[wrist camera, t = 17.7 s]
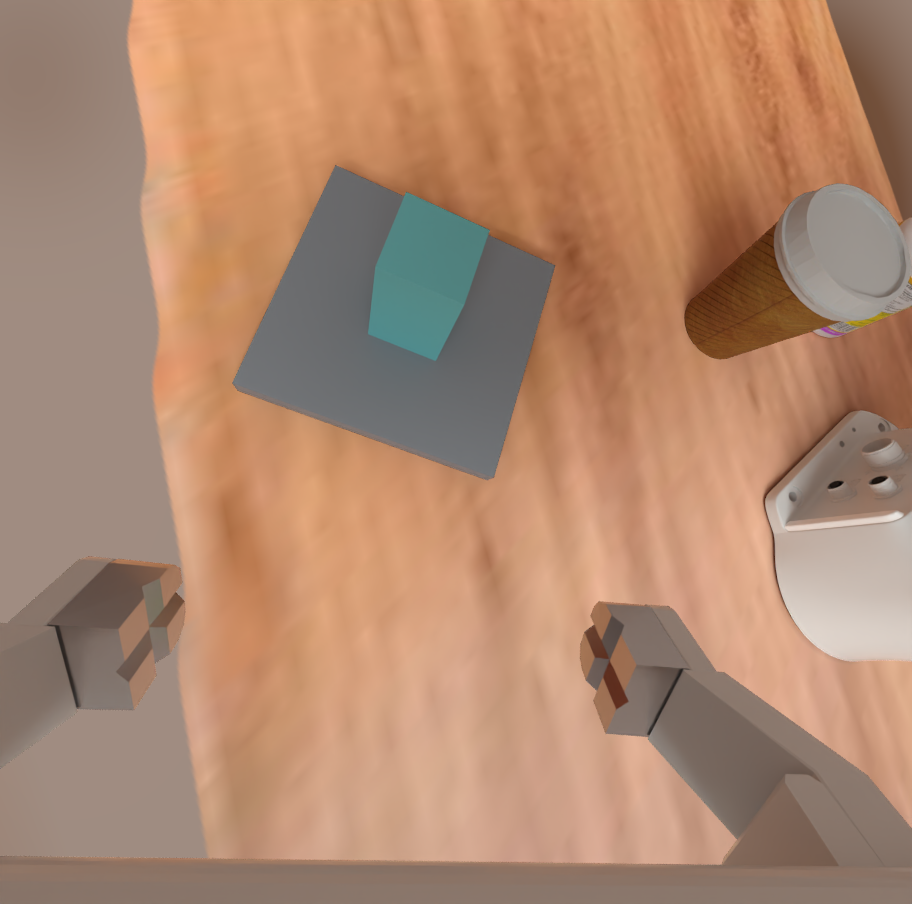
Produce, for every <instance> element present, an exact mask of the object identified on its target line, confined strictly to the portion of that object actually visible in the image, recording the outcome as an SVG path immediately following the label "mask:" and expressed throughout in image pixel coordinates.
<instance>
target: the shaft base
mask: <svg viewBox="0 0 912 904" xmlns="http://www.w3.org/2000/svg"><path fill="white" fill-rule="evenodd" d="M403 198H404V196H402V195H400V194H398V193H395V192H393V191H391V190H389V189H387V188H384V187H382V186H380V185H378V184H376V183H374V182H371V181H369V180H367V179H365V178H363V177H360V176H358V175H356V174H354V173H352V172H349V171H347V170H345V169H343V168H341V167H339V166H336V165H335V168H334V170H333V172H332V174H331V176H330V178H329V180H328V182H327V184H326V187H325V189H324V191H323V193H322V195H321V197H320V199H319V201H318V203H317V206H316V208H315V210H314V212H313V214H312V216H311V218H310V220H309V222H308V224H307V227H306V229H305V231H304V233H303V235H302V237H301V239H300V241H299V243H298V246H297V248H296V250H295V252H294V254H293V256H292V258H291V260H290V262H289V265H288V267H287V269H286V271H285V273H284V275H283V277H282V279H281V281H280V284H279V286H278V288H277V290H276V292H275V294H274V296H273V298H272V300H271V303H270V305H269V307H268V309H267V311H266V313H265V315H264V317H263V319H262V322H261V324H260V326H259V328H258V330H257V332H256V334H255V336H254V338H253V340H252V343H251V345H250V347H249V349H248V351H247V353H246V355H245V357H244V359H243V362H242V364H241V366H240V368H239V370H238V372H237V374H236V376H235V378H234V381H233V385H234V386H235V388H236V389H237V390H238V391H240V392H243V393H246V394H248V395H251V396H254V397H257V398H260V399H262V400H265V401H268V402H271V403H274V404H276V405H279V406H282V407H285V408H287V409H290V410H293V411H296V412H299V413H301V414H304V415H307V416H310V417H313V418H315V419H318V420H321V421H324V422H326V423H329V424H332V425H335V426H338V427H340V428H343V429H346V430H349V431H352V432H354V433H357V434H360V435H363V436H365V437H368V438H371V439H374V440H377V441H379V442H382V443H385V444H388V445H390V446H393V447H396V448H399V449H402V450H404V451H407V452H410V453H413V454H416V455H418V456H421V457H424V458H427V459H429V460H432V461H435V462H438V463H441V464H443V465H446V466H449V467H452V468H455V469H457V470H460V471H463V472H466V473H468V474H471V475H474V476H477V477H480V478H482V479H485V480H489V479H491V478H494V475H495V472H496V468H497V465H498V461H499V458H500V454H501V451H502V447H503V444H504V441H505V437H506V434H507V430H508V427H509V423H510V420H511V416H512V413H513V409H514V406H515V403H516V399H517V396H518V392H519V389H520V385H521V382H522V378H523V375H524V372H525V368H526V365H527V361H528V358H529V354H530V351H531V347H532V344H533V341H534V337H535V334H536V330H537V327H538V323H539V320H540V316H541V313H542V310H543V306H544V303H545V299H546V296H547V292H548V289H549V285H550V282H551V278H552V275H553V272H554V268H555V265H553V264H551V263H549V262H546V261H544V260H542V259H540V258H538V257H536V256H533V255H531V254H529V253H527V252H525V251H522V250H520V249H518V248H516V247H514V246H511V245H509V244H507V243H505V242H503V241H500V240H498V239H496V238H494V237H492V236H490V235H488V237H487V240H486V243H485V246H484V249H483V252H482V255H481V257H480V260H479V263H478V266H477V269H476V272H475V275H474V278H473V281H472V284H471V287H470V290H469V293H468V296H467V298H466V301H465V304H464V306H463V308H462V310H461V312H460V314H459V316H458V318H457V320H456V322H455V324H454V326H453V328H452V330H451V332H450V334H449V336H448V338H447V340H446V342H445V344H444V346H443V348H442V350H441V352H440V354H439V356H438V358H437V359H436V361H434V360H432V359H429V358H427V357H424V356H422V355H419V354H417V353H414V352H412V351H409V350H407V349H404V348H402V347H399V346H397V345H394V344H392V343H389V342H387V341H384V340H381V339H379V338H376V337H374V336H371V335H369V334H368V329H369V320H370V311H371V302H372V293H373V284H374V275H375V266H376V264H377V262H378V259H379V257H380V254H381V252H382V249H383V247H384V245H385V242H386V240H387V237H388V235H389V232H390V230H391V228H392V225H393V223H394V220H395V218H396V215H397V213H398V211H399V208H400V206H401V203H402V201H403Z"/></svg>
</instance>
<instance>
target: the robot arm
mask: <svg viewBox="0 0 912 904" xmlns="http://www.w3.org/2000/svg"><path fill="white" fill-rule="evenodd" d="M765 507H766V512H767V515H768V519H769V522H770V525H771V527H772V530H773V533H774V539H775V564H776V573H777V579H778V583H779V587H780V591H781V594H782V597H783V600H784V602H785V605H786V607H787V609H788V611H789V613H790V615H791V617H792V618H793V620H794V622H795V623H796V625H797V626H798V627H799V629H800V630H801V631H802V633H803V634H804V635H805V636H806V637H807V638H808V639H809V640H810V641H811V642H812V643H813V644H814V645H815V646H816V647H818V648H819V649H820V650H822V651H823V652H825V653H827V654H828V655H830V656H832V657H835V658H838V659H841V660H845V661H852V662H857V661H875V660H891V661H912V428H906V429H898V428H897V427H896V426H895V425H893V424H892V423H890V422H889V421H887V420H886V419H884V418H882V417H880V416H878V415H876V414H874V413H871V412H868V411H864V410H860V411H853V412H850V413H849V414H847V415H846V416H845V417H844V418H843V419H842V420H841V421H840V422H839V423H838V424H837V425H836V426H835V427H834V428H833V429H832V430H831V431H830V432H829V433H828V434H827V435H826V436H825V437H824V438H823V439H822V440H821V441H820V442H819V443H818V444H817V445H816V446H815V447H814V448H813V449H812V450H811V451H810V452H809V453H808V454H807V455H806V456H805V457H804V458H803V459H802V460H801V461H800V462H799V463H798V464H797V465H796V466H795V467H794V468H793V469H792V470H791V471H790V472H789V473H788V474H787V475H786V476H785V477H784V478H783V479H782V480H781V481H780V482H779V483H778V484H777V485H776V486H775V487H774V488H773V489H772V490H771V491H770V492H769V493H768V494H767V496H766V499H765ZM181 584H182V577H181V570H180V568H179V567H177V566H176V565H170V564H162V563H152V562H143V561H133V560H124V559H110V558H101V557H92V556H88V557H85V558H82V559H79V560H78V561H76V562H75V563H74V564H73V565H72V566H71V567H70V568H69V569H67V570H66V571H65V572H64V573H63V574H62V575H61V576H60V577H59V578H57V579H56V580H55V581H54V582H53V583H52V584H51V585H49V586H48V587H47V588H46V589H45V590H44V591H43V592H42V593H41V594H39V595H38V596H37V597H36V598H35V599H34V600H33V601H31V602H30V603H29V604H28V605H27V606H26V607H25V608H24V609H22V610H21V611H20V612H19V613H18V614H17V615H16V616H15V617H13V618H12V619H11V620H10V621H9V622H8V623H0V769H1V768H2V767H3V766H5V765H6V764H7V763H9V762H10V761H12V760H13V759H14V758H16V757H17V756H18V755H20V754H21V753H22V752H24V751H25V750H27V749H28V748H29V747H30V746H32V745H33V744H35V743H36V742H37V741H39V740H40V739H42V738H43V737H44V736H46V735H47V734H48V733H50V732H51V731H52V730H54V729H55V728H57V727H58V726H59V725H61V724H62V723H64V722H65V721H66V720H68V719H69V718H70V717H72V716H73V715H75V714H76V713H77V709H95V710H135V708H136V707H137V705H138V703H139V702H140V700H141V699H142V697H143V695H144V694H145V692H146V691H147V689H148V688H149V686H150V685H151V683H152V681H153V680H154V678H155V677H156V669H155V663H156V662H158V661H159V660H161V659H163V658H164V657H166V656H167V655H169V654H170V653H171V651H172V650H173V648H174V646H175V645H176V643H177V641H178V640H179V637H180V634H181V631H182V628H183V625H184V620H185V601H184V600H183V599H182V598H181V597H180V596H179V595H178V594H177V593H176V591H177V589H178V588H179V587H180V585H181ZM591 618H592V620H593V623H594V625H593V626H592V627H590V628H589V629H588V630H586V631H585V632H584V635H583V638H582V641H581V644H580V661H581V666H582V671H583V673H584V676H585V679H586V681H587V682H588V683H589V684H590V685H591V686H592V687H593V688H595V689H596V690H597V692H596V695H595V698H594V700H593V701H594V704H595V706H596V709H597V712H598V714H599V717H600V720H601V722H602V725H603V728H604V730H605V733H606V734H618V735H631V736H643V737H649V738H648V740H649V741H650V742H651V743H652V745H653V746H654V747H655V748H656V749H657V750H658V751H659V752H660V754H661V755H662V756H663V757H664V758H665V759H666V760H667V761H668V763H669V764H670V765H671V766H672V767H673V768H674V769H675V770H676V771H677V773H678V774H679V775H680V776H681V777H682V778H683V779H684V780H685V782H686V783H687V784H688V785H689V786H690V787H691V788H692V789H693V791H694V792H695V793H696V794H697V795H698V796H699V797H700V798H701V800H702V801H703V802H704V803H705V804H706V805H707V806H708V807H709V808H710V810H711V811H712V812H713V813H714V814H715V815H716V816H717V817H718V819H719V820H720V821H721V822H722V823H723V824H724V825H725V826H726V828H727V829H728V830H729V831H730V832H731V833H732V834H733V835H734V837H735V838H736V839H737V841H736V842H735V843H734V845H733V846H732V847H731V849H730V850H729V851H728V853H727V854H726V856H725V857H724V859H723V862H722V865H693V864H612V863H536V862H460V861H379V860H292V859H207V858H203V859H202V858H124V857H122V858H120V857H114V858H113V857H42V856H39V857H38V856H0V904H912V828H911V827H910V826H909V825H908V823H907V822H906V821H905V820H904V819H903V817H902V816H901V815H900V814H899V813H898V811H897V810H896V809H895V808H894V807H893V805H892V804H891V803H890V802H889V801H888V799H887V798H886V797H885V796H884V795H883V793H882V792H881V791H880V790H879V789H878V787H877V786H876V785H875V784H874V783H873V781H872V780H871V779H870V778H869V777H868V775H866V774H865V773H864V772H862V771H861V770H859V769H858V768H857V767H855V766H854V765H852V764H851V763H850V762H848V761H847V760H845V759H844V758H843V757H841V756H840V755H838V754H837V753H836V752H834V751H833V750H832V749H830V748H829V747H827V746H826V745H825V744H823V743H822V742H820V741H819V740H818V739H816V738H815V737H813V736H812V735H811V734H809V733H808V732H806V731H805V730H804V729H802V728H801V727H800V726H798V725H797V724H795V723H794V722H793V721H791V720H790V719H788V718H787V717H786V716H784V715H783V714H781V713H780V712H779V711H777V710H776V709H775V708H773V707H772V706H770V705H769V704H768V703H766V702H765V701H763V700H762V699H761V698H759V697H758V696H756V695H755V694H754V693H752V692H751V691H749V690H748V689H747V688H745V687H744V686H743V685H741V684H740V683H738V682H737V681H736V680H734V679H733V678H731V677H730V676H729V675H727V674H726V673H724V672H717V671H716V670H715V668H714V667H713V665H712V664H711V662H710V661H709V660H708V658H707V657H706V655H705V654H704V652H703V651H702V649H701V648H700V646H699V645H698V644H697V642H696V641H695V639H694V638H693V636H692V635H691V633H690V632H689V630H688V629H687V628H686V626H685V625H684V623H683V622H682V620H681V619H680V617H679V616H678V615H677V613H676V612H675V611H674V610H673V609H672V608H670V607H669V606H659V605H639V604H626V603H613V602H600V601H599V602H598V603H597V604H596V605H595V606H594V608H593V611H592V613H591Z"/></svg>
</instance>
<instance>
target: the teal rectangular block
mask: <svg viewBox="0 0 912 904" xmlns="http://www.w3.org/2000/svg"><path fill="white" fill-rule="evenodd" d="M489 231H490V230H488V229H486V228H484V227H482V226H480V225H477V224H475V223H473V222H471V221H469V220H467V219H464V218H462V217H460V216H458V215H456V214H453V213H451V212H449V211H447V210H445V209H443V208H440V207H438V206H436V205H434V204H432V203H429V202H427V201H425V200H423V199H421V198H418V197H416V196H414V195H412V194H410V193H408V192H406V194H405V196H404V198H403V201H402V203H401V206H400V208H399V211H398V213H397V215H396V218H395V220H394V223H393V225H392V228H391V230H390V232H389V235H388V237H387V240H386V242H385V245H384V247H383V249H382V252H381V254H380V257H379V259H378V262H377V264H376V266H375V275H374V284H373V293H372V302H371V311H370V320H369V329H368V334H369V335H371V336H374V337H376V338H379V339H381V340H384V341H387V342H389V343H392V344H394V345H397V346H399V347H402V348H404V349H407V350H409V351H412V352H414V353H417V354H419V355H422V356H424V357H427V358H429V359H432V360H434V361H436V359H437V358H438V356H439V354H440V352H441V350H442V348H443V346H444V344H445V342H446V340H447V338H448V336H449V334H450V332H451V330H452V328H453V326H454V324H455V322H456V320H457V318H458V316H459V314H460V312H461V310H462V308H463V306H464V304H465V301H466V298H467V296H468V293H469V290H470V287H471V284H472V281H473V278H474V275H475V272H476V269H477V266H478V263H479V260H480V257H481V255H482V252H483V249H484V246H485V243H486V240H487V237H488V234H489Z"/></svg>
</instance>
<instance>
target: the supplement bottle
mask: <svg viewBox="0 0 912 904" xmlns="http://www.w3.org/2000/svg"><path fill="white" fill-rule="evenodd" d="M898 225H899V227H900V229H901V231H902V233H903V235H904V237H905V240H906V243H907V246H908V250H909V254H910V264H911V267H910V278H909V281H908V284H907V286H906V288H905V289H904V291H903V293H902V294H900V295H899V296H898V297H897V298H896V299H894V300H893V301H891V302H890V303H888V304H887V306H886V307H885V309H884V310H883V311H882V312H880V313H879V314H878V315H876V316H874V317H872V318H869V319H865V320H862V321H848V322H839V323H836V324H833V325H830V326H827V327H824V328H821V329H818V330H814V331H812V332H814V333H815V334H817V335H820V336H822V337H827V338H834V337H839V336H842V335H845V334H847V333H849V332H852V331H854V330H857V329H859V328H862V327H864V326H867V325H869V324H871V323H874V322H876V321H879V320H881V319H883V318H886V317H888V316H891V315H893V314H896V313H898V312H900V311H903V310H905V309H908V308H910V307H912V217H911V218H909V219H907V220H905V221H903V222H901V223H900V224H898Z"/></svg>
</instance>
